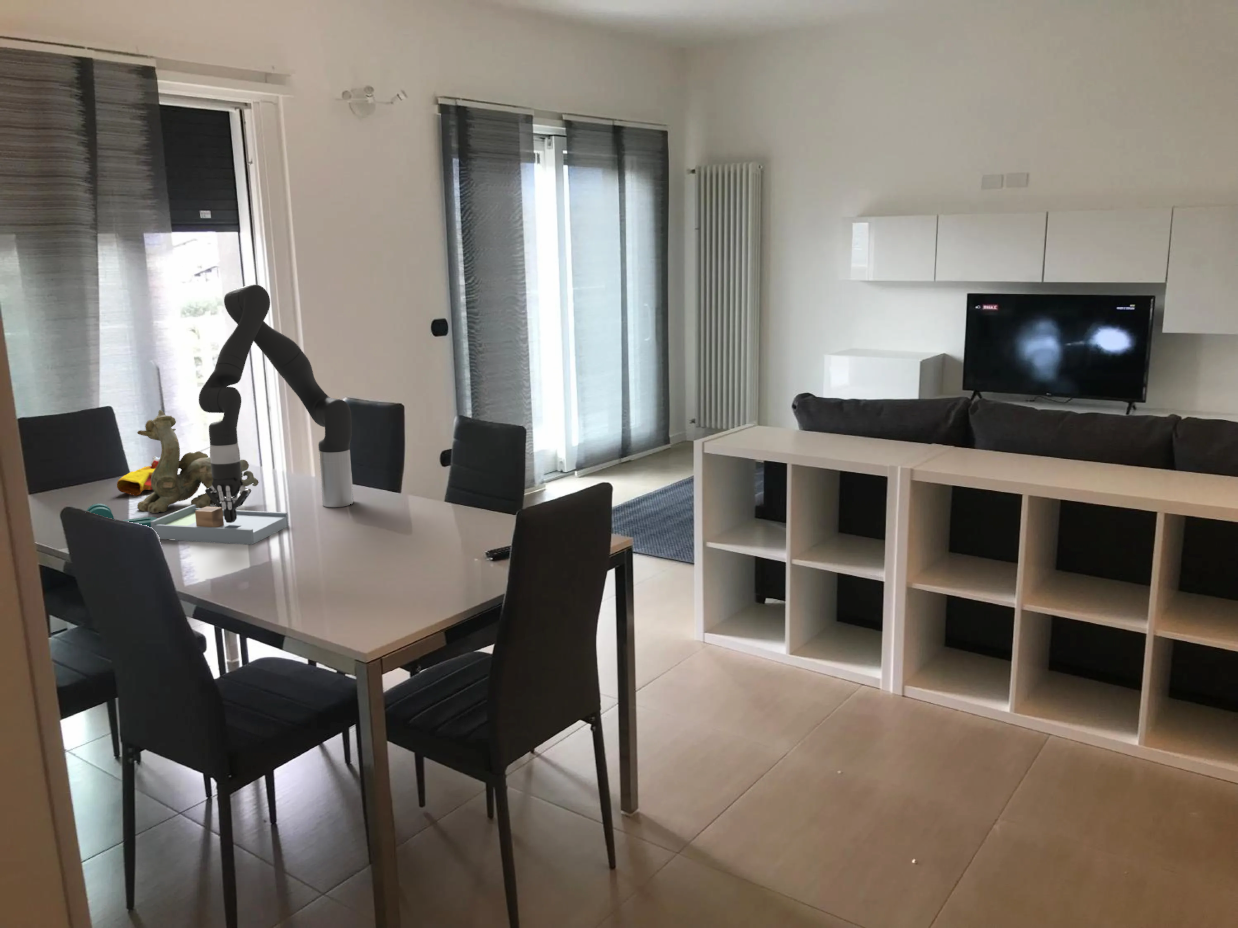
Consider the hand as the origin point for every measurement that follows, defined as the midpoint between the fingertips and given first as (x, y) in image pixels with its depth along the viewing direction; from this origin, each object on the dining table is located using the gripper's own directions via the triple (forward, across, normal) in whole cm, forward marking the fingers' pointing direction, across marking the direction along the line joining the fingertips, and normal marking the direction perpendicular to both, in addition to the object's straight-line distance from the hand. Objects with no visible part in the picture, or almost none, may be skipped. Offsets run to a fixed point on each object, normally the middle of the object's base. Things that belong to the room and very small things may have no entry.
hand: (230, 521), depth 271 cm
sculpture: (+5, +32, -32) cm, 45 cm away
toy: (+5, +61, -54) cm, 81 cm away
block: (+2, +6, 0) cm, 6 cm away
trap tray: (+4, +6, -5) cm, 8 cm away
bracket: (+5, +36, -3) cm, 36 cm away
